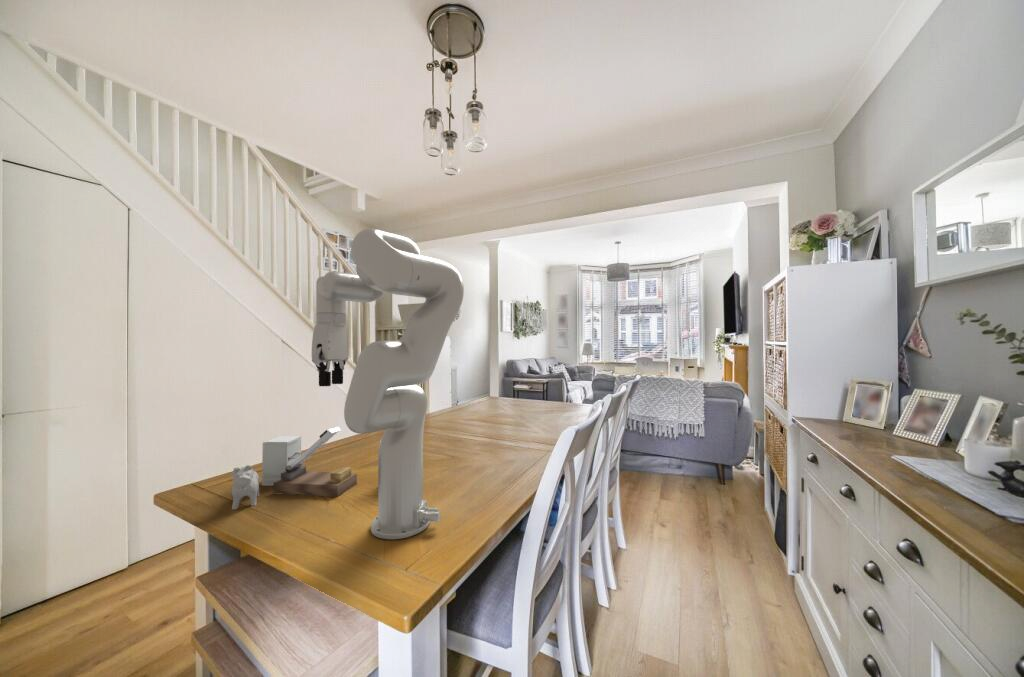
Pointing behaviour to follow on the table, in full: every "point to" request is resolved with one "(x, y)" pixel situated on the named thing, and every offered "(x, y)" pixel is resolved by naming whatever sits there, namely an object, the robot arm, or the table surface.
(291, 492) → the mount block
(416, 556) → the table surface
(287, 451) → the supplement box
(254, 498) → the dog figurine
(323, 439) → the grey flat bar
